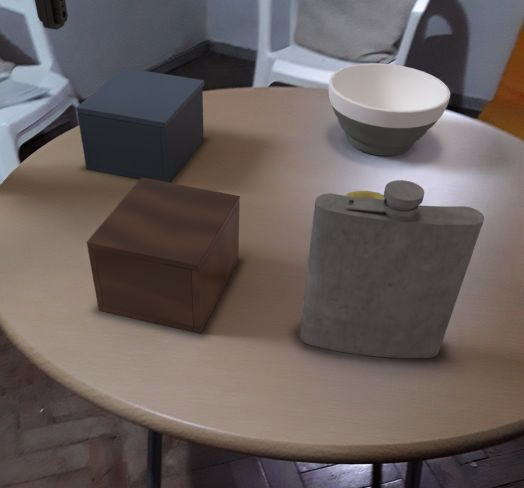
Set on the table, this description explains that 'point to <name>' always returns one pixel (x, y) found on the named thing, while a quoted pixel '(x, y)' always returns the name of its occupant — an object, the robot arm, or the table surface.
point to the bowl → (386, 105)
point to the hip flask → (385, 272)
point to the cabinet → (166, 253)
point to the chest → (142, 143)
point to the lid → (142, 97)
